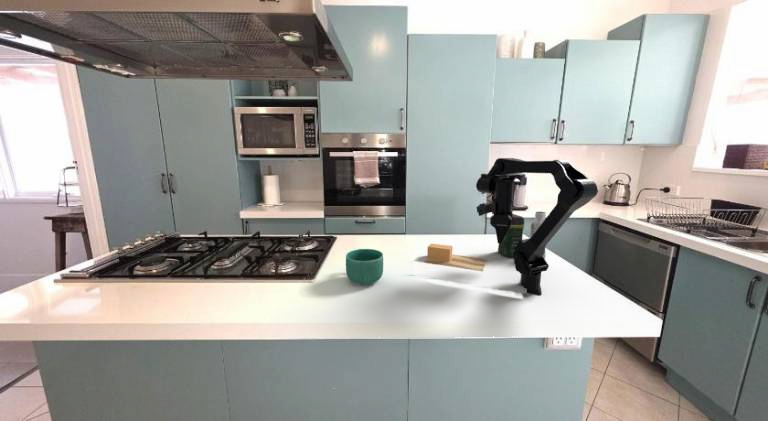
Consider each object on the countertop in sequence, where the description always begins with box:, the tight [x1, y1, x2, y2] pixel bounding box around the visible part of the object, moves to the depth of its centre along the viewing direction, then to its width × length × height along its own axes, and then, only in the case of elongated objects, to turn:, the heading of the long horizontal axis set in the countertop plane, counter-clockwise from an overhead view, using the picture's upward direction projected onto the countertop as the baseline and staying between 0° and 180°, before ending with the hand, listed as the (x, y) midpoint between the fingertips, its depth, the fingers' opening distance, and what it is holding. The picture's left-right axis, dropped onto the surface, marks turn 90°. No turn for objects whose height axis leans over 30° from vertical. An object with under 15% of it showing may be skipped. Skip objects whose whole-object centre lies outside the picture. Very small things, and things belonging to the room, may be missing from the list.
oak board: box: [423, 253, 488, 272], centre depth 119 cm, size 14×22×2 cm, turn 66°
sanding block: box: [426, 243, 453, 262], centre depth 121 cm, size 5×9×5 cm, turn 66°
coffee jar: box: [497, 213, 525, 259], centre depth 125 cm, size 10×8×19 cm
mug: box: [345, 248, 384, 286], centre depth 104 cm, size 17×13×10 cm
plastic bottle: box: [530, 211, 547, 260], centre depth 121 cm, size 6×7×20 cm
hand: (500, 240), depth 106 cm, fingers open, 9 cm apart
